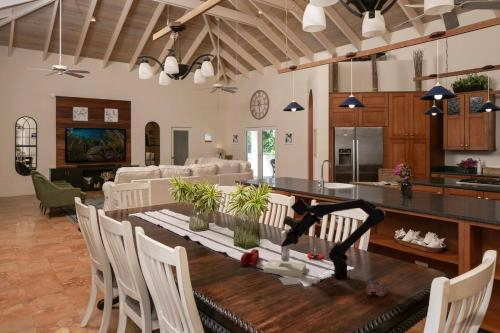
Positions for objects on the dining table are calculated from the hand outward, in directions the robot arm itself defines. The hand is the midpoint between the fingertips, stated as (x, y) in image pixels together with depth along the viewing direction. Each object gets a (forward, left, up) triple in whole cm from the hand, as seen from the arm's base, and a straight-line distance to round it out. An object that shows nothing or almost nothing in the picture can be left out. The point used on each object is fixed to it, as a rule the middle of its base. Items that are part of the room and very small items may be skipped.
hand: (282, 244), depth 169 cm
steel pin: (-1, -1, -7) cm, 8 cm away
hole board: (-1, -1, -12) cm, 12 cm away
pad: (-14, +1, -12) cm, 18 cm away
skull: (-34, -30, -13) cm, 47 cm away
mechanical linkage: (+15, +11, -13) cm, 23 cm away
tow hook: (+15, -23, -13) cm, 30 cm away
